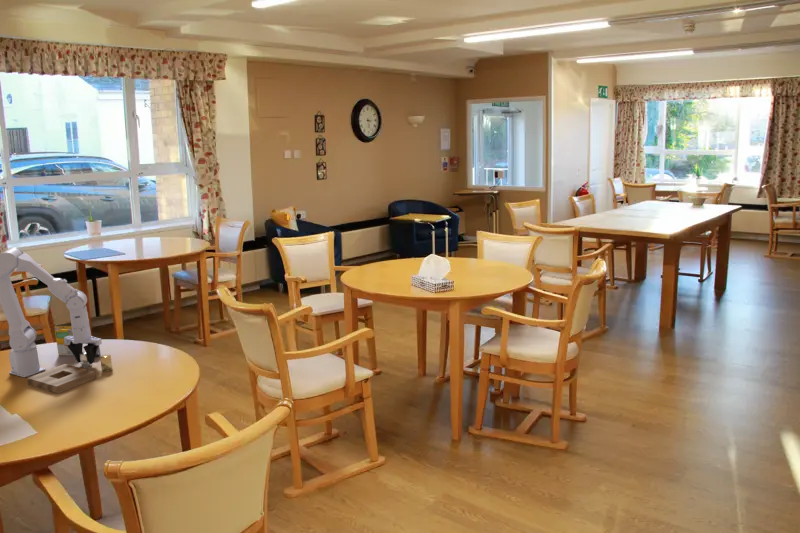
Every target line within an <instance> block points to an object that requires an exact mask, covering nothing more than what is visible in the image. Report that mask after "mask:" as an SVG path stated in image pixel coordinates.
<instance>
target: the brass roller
mask: <svg viewBox="0 0 800 533" xmlns="http://www.w3.org/2000/svg"><path fill="white" fill-rule="evenodd" d="M111 356H112V355H111V354H104V355H101V356H100V357H99V359H100V367H101V371H102V373H103V372H104V373H107V372H111V371H113V369H114V368H113V364H112V362H113V361H112V357H111Z"/></svg>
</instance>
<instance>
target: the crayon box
mask: <svg viewBox="0 0 800 533" xmlns="http://www.w3.org/2000/svg"><path fill="white" fill-rule="evenodd" d="M54 334H55V335H54V336H55V340H56V348H57V352H58V356H59V357H62V356H74V355H73V353H72V351H71V350H70V349H69V348H68V345H70V342H68V343H65V341H64V337H67V336H73V332H72V325H54Z"/></svg>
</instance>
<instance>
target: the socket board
mask: <svg viewBox="0 0 800 533" xmlns="http://www.w3.org/2000/svg"><path fill="white" fill-rule="evenodd" d="M26 379H27V384H28V386H31V387H34V388H38V389H41V390H43V391H48V392H51V393H55V394H60V393H63V392H65V391H68V390H70V389H72V388H75V387H77V386H79V385H83V384H86V383H87V382H89V381H92V380H94V379H96V374H95V371H94V370H91V369H88V368H82V367H79V366H75V365H71V364H68V363H64V364H61V365H59V366H55V367H54V368H53V367H52V368H51V369H47V370H44V371H41V372H39V373H36V374H33V375H30V376H28V377H26Z"/></svg>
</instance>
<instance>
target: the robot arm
mask: <svg viewBox="0 0 800 533" xmlns="http://www.w3.org/2000/svg"><path fill="white" fill-rule="evenodd" d="M14 271H16V272H26V273H29V274H31V275H32V276H33V277H35V278H36V279H38V280H39V281H41V282H42V283H43V284H45V285H47V289H48V292H50V293H51V294H53V295H54V296H55V297H56V298H57V299H59V300H60V301H61V302H63V303H65V307H66V308H67V309H68V311H69V318H70V324H71V325H70V326H72V332H73V336H67V337H64V341H65V343H68V342H70V345H68V348H69V349H70V350H71V351H72V353H73V355H72V356H74V358H75V361H76V362H77V364H79V363H80V364H81V361H80V355H79V354H80V353H81V352H83V350H84V352H85V351H86V354H87V357H88V362H89V364H92V365H93V364H94V363H96V358H95V356H96V352H97V349H98V346H99V347H100V345H102V343H103V342H102V338H99V337H95V336H94V335H93V336H92V332H91V327H90V326H91V325H90V319H89V312H88V308H87V305H86V304H87V303H88V297H87V295H86V294H85V293H84V291H81V290H79V289H78V288H74V287H73V286H72V285H70V284H69V283H68V280H67V279H66V278H61V277H54V276H53V275H52V274H50V273H49V272H48V271H47V270H46V269H45V268H44V267H42V266H41V265H40V264H39V263H37V261H35V259H33V258H32V257H31V256H30V255H29V254H28V253H26V252H24V251H23V250H22V249H21V248H20V247H19V248H18V247H16V246H15V247H14V246H13V247H9V248H8V249H7V250H5V251H3V252H1V253H0V305H1V308H2V311H3V314H4V316H5V318H6V321H7V323H8V335H9V344H8V345H9V346H10V348H11V349H10V350H9V354H8V357H9V358H8V359H9V363H10V368H11V369H10V370H11V371H9V374H11V375H15V376H18V377H22V378H29V377H31V376H34V375H37V374H39V373H42V372H45V371H47V370H46V368H45V367H41V365H40V360H39V355H38V350H37V349H38V348H37V347H38V346H37V344H36V342H35V341H36V338H37V331H36V330H35V329H34V328H33V327H32V325H31V323H30V322H29V321H28V320H27V319H26V317H25V315H24V313H23V309H22V307H21V304H20V302H19V299H18V296H17V294H16V290H15V289H14V286H13V283H12V281H11V276H12V274H13V272H14ZM84 344H85V345H84Z"/></svg>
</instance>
